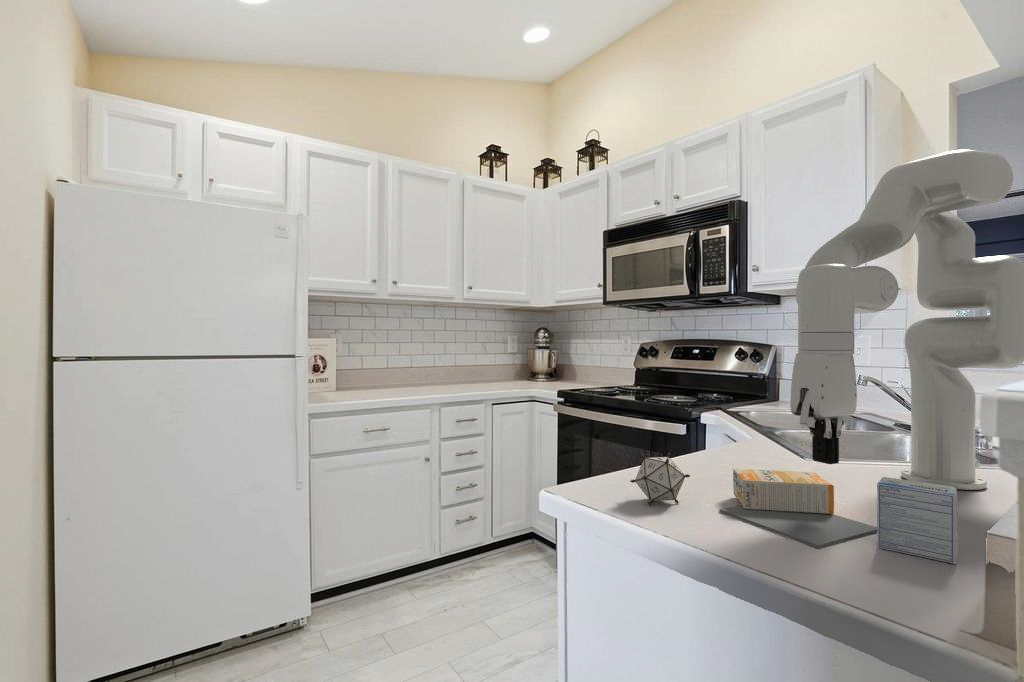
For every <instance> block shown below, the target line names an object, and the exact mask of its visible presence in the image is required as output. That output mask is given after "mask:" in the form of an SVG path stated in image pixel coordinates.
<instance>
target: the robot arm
mask: <svg viewBox="0 0 1024 682" xmlns="http://www.w3.org/2000/svg"><path fill="white" fill-rule="evenodd" d="M1013 183H1014V171H1013V168H1012V166H1011V164H1010V163H1009V161H1008V160H1007V159H1006V158H1005V157H1004V156H1002V155H1000V154H998V153H995V152H989V151H983V150H975V149H957V150H951V151H946V152H943V153H939V154H936V155H935V154H934V155H932V156H927V157H923V158H920V159H916V160H913V161H912V160H911V161H909V162H905V163H902V164H900V165H899V164H898V165H897V166H893V167H892V168H890V169H889V170H888V171H887V172H885V173H884V174H883V175H882V177H881V178H880V180H879V181H878V183H877V185H876V187H875V188H874V190H873V191H872V194H871V196H870V198H869V200H868V202H867V203H866V205H865V207H864V209H863V211H862V212H861V213H860V216H859V218H858V220H856V221H855V222H854V223H852V224H851V225H849V226H848V227H846V228H845V229H843V230H842V231H840V232H839V233H837V234H836V235H835V236H833V237H831V239H830V240H828V241H826V242H825V243H824V244H823V245H822V246H820V247H818V249H817V250H816V251H815V253H813V254H812V255H811V257H810V258H809V260H808V261H807V263H806V265H805V267H804V268H802V270H800V271H799V274H798V276H797V277H798V278H797V279H798V280H797V284H796V288H795V301H796V303H797V353H795V358H794V361H793V365H792V374H791V384H790V402H789V403H790V405H789V406H790V412H791V414H792V415H794V416H797V417H800V418H799V425H800V426H803V427H804V426H805V427H807V429H809V434H810V436H811V437H812V442H811V443H812V445H811V448H812V454H811V458H812V461H814V462H816V463H817V462H818V463H823V464H826V465H827V464H828V465H836V464H839V462H840V454H839V453H840V438H841V436H842V431H843V426H844V425H845V424H848V423H850V421H851V416H852V415H854V414H855V412H856V411H857V405H858V404H857V403H858V402H857V401H858V399H857V398H858V394H857V393H858V392H857V390H858V389H857V386H858V385H857V374H856V365H855V359H854V355H855V315H856V314H857V315H858V314H872V313H877V312H882V311H884V310H887V309H888V308H890V307H891V306H892V305H893V304H894V303H895V301H896V299H897V297H898V295H899V283H898V280H897V278H896V276H895V275H894V274H893V272H891V271H890V270H889V269H887V268H885V267H882V266H878V265H865V266H862V265H863V264H866V263H869V262H872V261H874V260H877V259H881V258H882V257H885V256H886V255H889V254H891V253H893V252H895V251H897V250H899V249H901V248H903V247H905V245H907V244H908V243H909V242H910V241H911V240H912V238H913V237H914V234H915V236H916V237H915V238H916V240H917V249H918V250H917V253H918V254H917V274H916V277H917V278H916V294H917V296H916V297H917V300H918V302H919V305H920V306H921V307H922V308H925V309H927V310H930V311H967V310H968V311H969V310H989V314H990V315H986V316H985V315H983V316H982V315H981V316H947V317H946V316H945V317H941V316H940V317H932V318H924V319H921V320H918V321H915V322H913V323H912V324H911V325H910V326H909V327H908V328H907V329H906V331H905V334H904V335H905V336H904V346H905V350H906V356H907V359H908V367H909V372H910V394H911V395H910V398H911V399H910V406H911V407H910V466H911V467H908V468H907V467H906V468H903V469H902V470H901V473H900V475H901V477H902V478H903V479H904V480H911V481H918V482H926V483H932V484H939V485H945V486H953V487H955V488H956V489H957V490H964V491H968V490H969V491H975V490H984V489H986V488H987V484H988V483H987V480H986V479H984V478H983V477H979V476H977V475H976V469H977V468H980V466H981V461H980V460H979V459H977V458H976V391H975V389H974V387H973V384H972V383H971V382H970V381H969V380H968V378H967V377H966V376H965V375H964V373H962V372H961V371H960V369H991V370H993V369H996V370H997V369H999V370H1001V369H1002V370H1005V369H1006V370H1007V369H1014V368H1017V367H1019V366H1021V365H1022V364H1023V363H1024V262H1023V261H1022V260H1021V259H1019V258H1018V257H1015V256H1013V255H1012V256H1011V255H994V256H993V255H992V256H983V257H977V258H976V235H975V231H974V229H972V227H971V226H970V225H969V224H968V223H967V222H966V221H964V220H963V219H961V218H960V217H959V216H957V215H956V214H954V213H953V212H952V211H957V210H964V209H967V208H974V207H978V206H984V205H990V204H993V203H997V202H999V201H1001V200H1003V199H1005V198H1006V196H1007V195H1008V194H1009V193H1010V191H1011V189H1012V187H1013Z"/></svg>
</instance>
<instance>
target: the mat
mask: <svg viewBox="0 0 1024 682" xmlns="http://www.w3.org/2000/svg"><path fill="white" fill-rule="evenodd" d="M718 512H719V513H722V514H723V515H727V516H730V517H732V518H734V519H738V520H740V521H743V522H746V523H748V524H752V525H754V526H755V527H756V526H757V527H759V528H762V529H765V530H767V531H770V532H773V533H775V534H778V535H781V536H784V537H786V538H788V539H791V540H794V541H797V542H799V543H803V544H804V545H805V544H806V545H807V546H811V547H812V548H816V549H821V548H825V547H828V546H831V545H835V544H839V543H842V542H845V541H851V540H853V539H854V540H855V539H857V538H860V537H864V536H868V535H872V534H875V533H878V526H874V525H871V524H868V523H865V522H864V523H863V522H860V521H857V520H854V519H850V518H847V517H844V516H841V515H837V514H822V513H806V512H789V511H773V510H755V509H744V508H743V506H742V505H741V504H739V505H735V506H729V507H725V508H720V509H719V511H718Z"/></svg>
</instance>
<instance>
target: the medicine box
mask: <svg viewBox="0 0 1024 682" xmlns="http://www.w3.org/2000/svg"><path fill="white" fill-rule="evenodd" d="M876 490H877V491H876V492H877V496H876V497H877V498H876V499H877V500H876V501H877V502H876V503H877V505H876V506H877V513H876V516H877V523H876V524H877V527H878V532H877V544H876V546H877V549H882V550H887V551H891V552H892V551H893V552H896V553H902V554H906V555H911V556H916V557H918V558H919V557H921V558H925V559H929V560H930V559H931V560H932V561H933V560H934V561H938V562H944V563H947V562H950V563H949V564H952V563H955V564H954V565H957V561H958V494H957V493H958V491H957V490H958V489H956V488H955V487H953V486H945V485H939V484H932V483H926V482H918V481H911V480H907V479H905V478H903V479H902V478H896V477H895V478H894V477H887V476H883V477H881V478H880V480H879V481H878V482H877V484H876Z"/></svg>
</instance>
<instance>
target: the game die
mask: <svg viewBox="0 0 1024 682" xmlns="http://www.w3.org/2000/svg"><path fill="white" fill-rule="evenodd" d="M640 455H641V457H642V463H641V464H640V467H639V470H638V471H637V475H636V477H635V479H631V480H630V481H629V482H630V483H632V484H633V483H636V485H637V486H638V487H639V488H640V490H641V491H642V492H643V493H644V494H645V496H646V497H647V499H648V500H649V501H648V503H647V504H648V506H651V505H652V504H653V503H652V502H659V501H660V502H662V501H663V502H664V501H674V503H675V504H677V505H680V504H679V500H678V499H677V497H678V495H679V492H680V490H681V489H682V486H683V482H684V480H685V479H686V478H690V477H691V475H690V474H688V473H687V474H684V472H682V470H681V469H680V468H679V467H678V465H676V463H674V461H673V460H672V459H671V458H670V457H671V452H668V453H667V454H666V456H652V457H647V456H646V455H645V454H644V453H641V454H640Z"/></svg>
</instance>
